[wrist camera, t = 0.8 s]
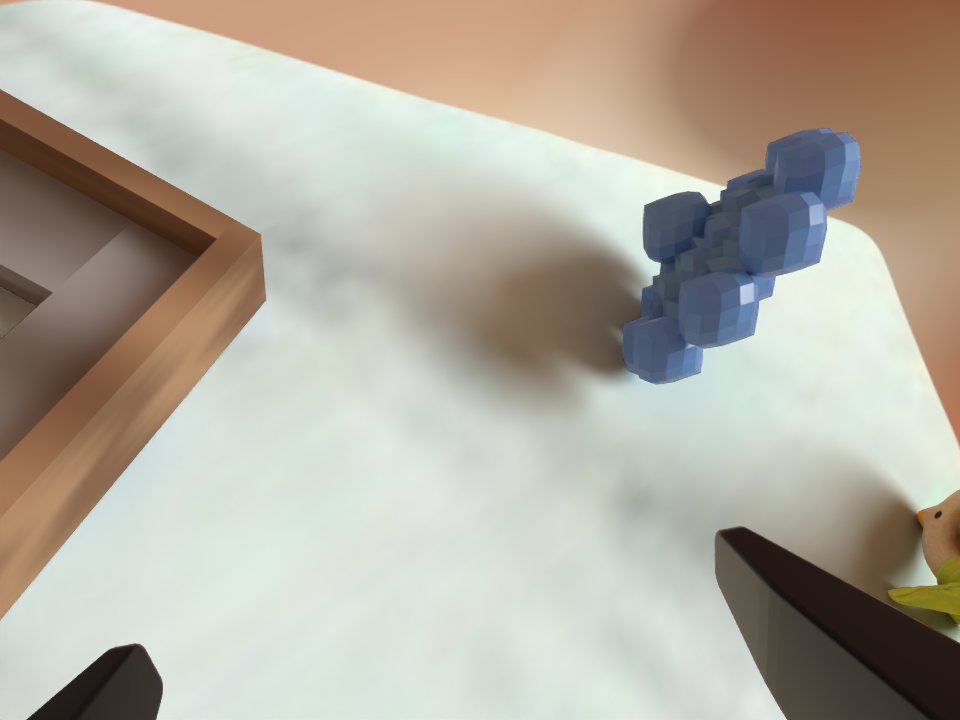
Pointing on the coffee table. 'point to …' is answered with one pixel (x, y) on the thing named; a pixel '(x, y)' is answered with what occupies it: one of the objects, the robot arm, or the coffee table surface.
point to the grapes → (734, 251)
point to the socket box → (98, 323)
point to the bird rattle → (938, 560)
